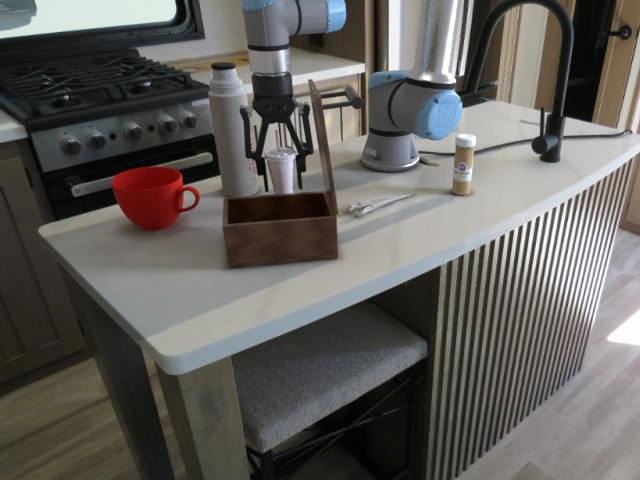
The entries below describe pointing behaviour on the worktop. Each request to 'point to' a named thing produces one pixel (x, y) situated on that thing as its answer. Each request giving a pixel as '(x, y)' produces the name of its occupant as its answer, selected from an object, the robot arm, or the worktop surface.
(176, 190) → the ceramic cup
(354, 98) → the wooden panel
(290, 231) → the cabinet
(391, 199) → the tweezers
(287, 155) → the smoothie
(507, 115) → the worktop surface
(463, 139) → the sprinkles bottle
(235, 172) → the thermos bottle
